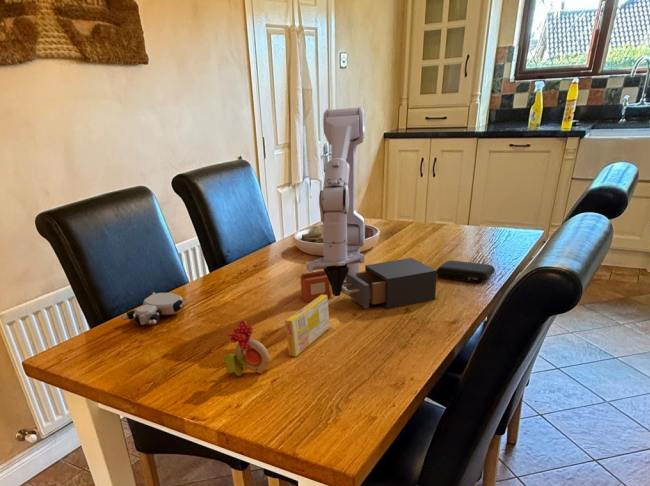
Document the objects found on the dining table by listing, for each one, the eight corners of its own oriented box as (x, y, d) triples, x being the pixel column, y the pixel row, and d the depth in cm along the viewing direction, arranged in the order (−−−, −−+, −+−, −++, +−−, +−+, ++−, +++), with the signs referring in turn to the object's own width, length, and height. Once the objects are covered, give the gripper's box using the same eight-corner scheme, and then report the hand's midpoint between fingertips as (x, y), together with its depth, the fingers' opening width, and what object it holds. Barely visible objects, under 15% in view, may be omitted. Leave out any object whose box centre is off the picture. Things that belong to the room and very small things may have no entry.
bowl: (277, 253, 180) (275, 230, 176) (322, 233, 200) (321, 212, 196) (353, 262, 164) (353, 237, 160) (393, 240, 185) (394, 217, 181)
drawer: (349, 311, 127) (349, 288, 124) (331, 296, 137) (331, 275, 134) (409, 299, 130) (411, 277, 127) (388, 286, 140) (389, 265, 137)
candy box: (322, 327, 122) (320, 293, 117) (330, 328, 121) (329, 294, 116) (287, 355, 110) (284, 319, 106) (295, 357, 109) (293, 320, 105)
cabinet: (386, 308, 129) (387, 279, 125) (365, 292, 140) (365, 265, 136) (435, 299, 132) (437, 270, 128) (409, 284, 143) (411, 257, 139)
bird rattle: (267, 374, 108) (229, 355, 108) (283, 331, 101) (242, 311, 102) (255, 389, 103) (216, 369, 104) (271, 345, 96) (229, 324, 97)
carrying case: (431, 279, 145) (484, 286, 138) (432, 268, 144) (485, 274, 136) (445, 268, 153) (496, 274, 145) (446, 258, 151) (497, 263, 143)
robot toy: (157, 334, 127) (193, 309, 137) (152, 318, 125) (190, 293, 135) (121, 328, 133) (158, 304, 143) (115, 312, 130) (154, 289, 140)
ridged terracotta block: (306, 302, 137) (305, 276, 133) (301, 297, 140) (299, 272, 137) (330, 298, 138) (329, 272, 134) (324, 293, 142) (323, 268, 138)
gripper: (312, 248, 118) (314, 304, 125) (369, 239, 121) (369, 294, 128) (302, 242, 124) (305, 295, 131) (357, 233, 127) (357, 286, 134)
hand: (336, 294), depth 130 cm, fingers closed
